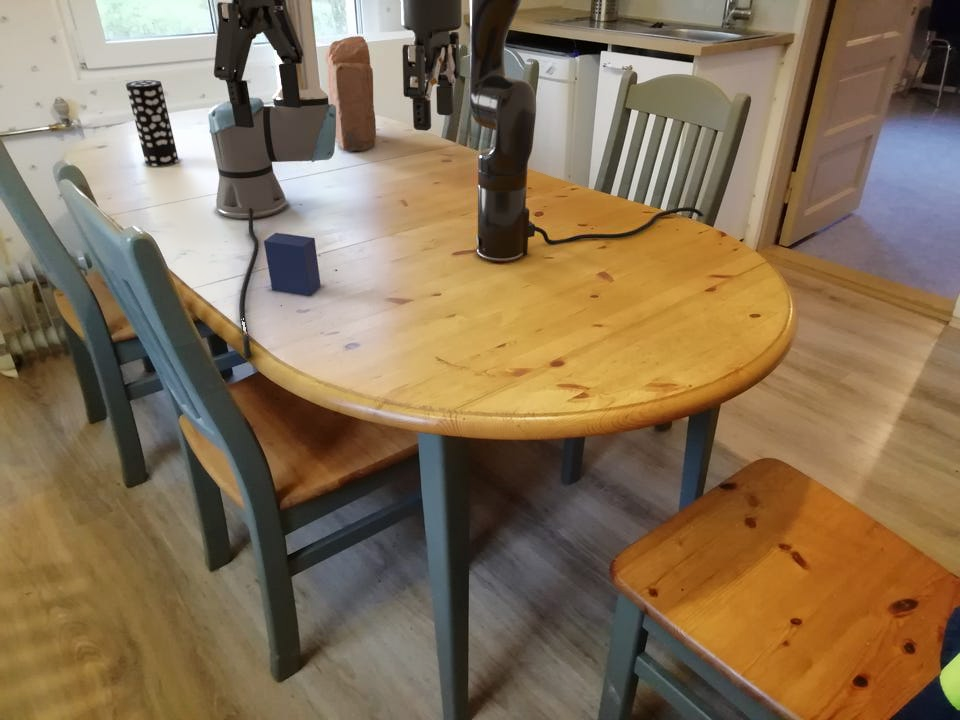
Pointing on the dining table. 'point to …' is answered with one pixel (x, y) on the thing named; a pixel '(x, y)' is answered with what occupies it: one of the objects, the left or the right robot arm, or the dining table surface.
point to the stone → (352, 93)
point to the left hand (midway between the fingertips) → (270, 116)
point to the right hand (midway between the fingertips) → (434, 121)
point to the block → (292, 263)
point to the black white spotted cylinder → (152, 122)
